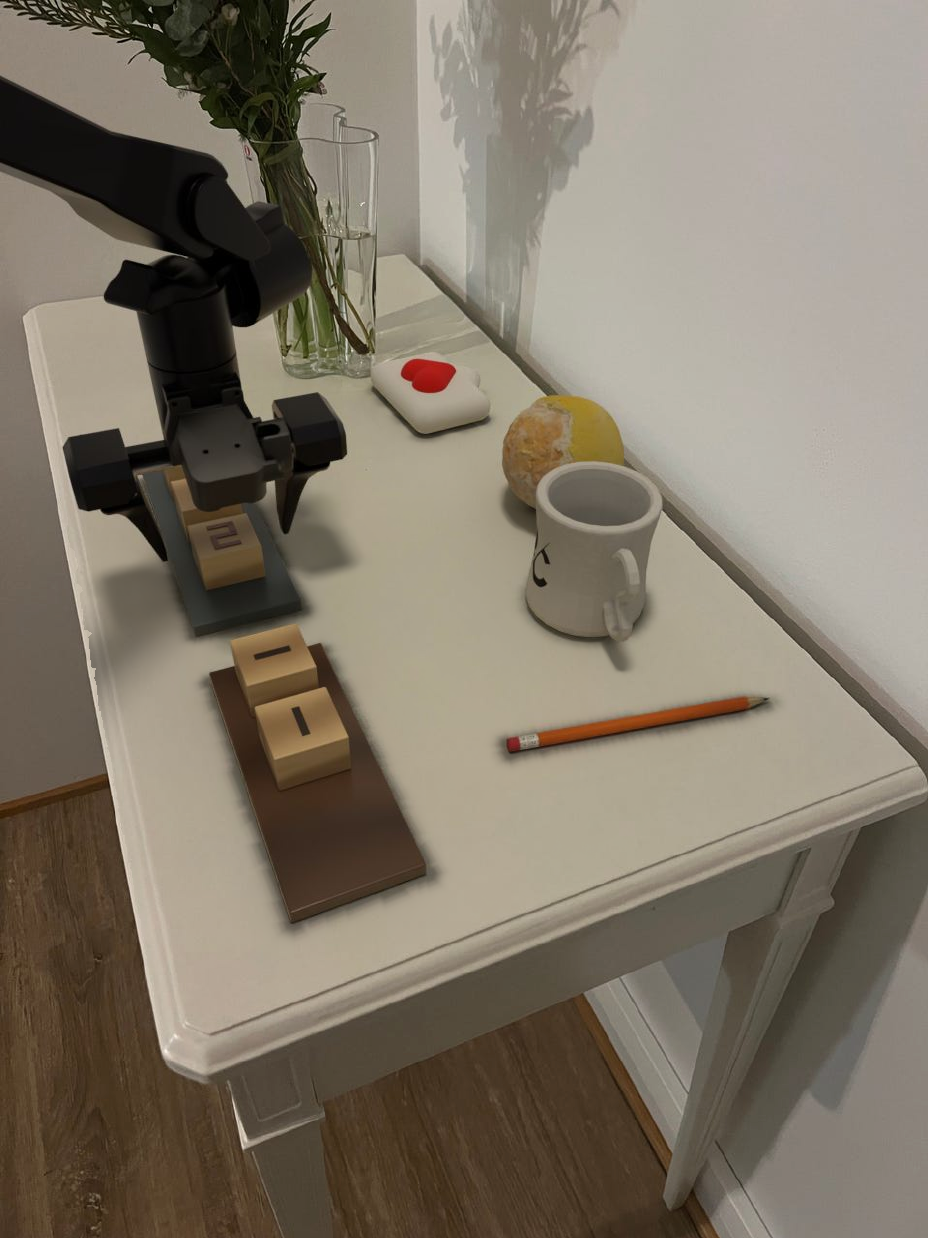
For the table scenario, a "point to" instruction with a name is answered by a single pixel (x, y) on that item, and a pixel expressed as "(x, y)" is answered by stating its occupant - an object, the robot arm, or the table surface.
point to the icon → (431, 391)
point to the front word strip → (323, 813)
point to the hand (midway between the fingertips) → (225, 544)
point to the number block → (226, 551)
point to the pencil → (631, 723)
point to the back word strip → (202, 605)
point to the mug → (592, 548)
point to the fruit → (557, 441)
